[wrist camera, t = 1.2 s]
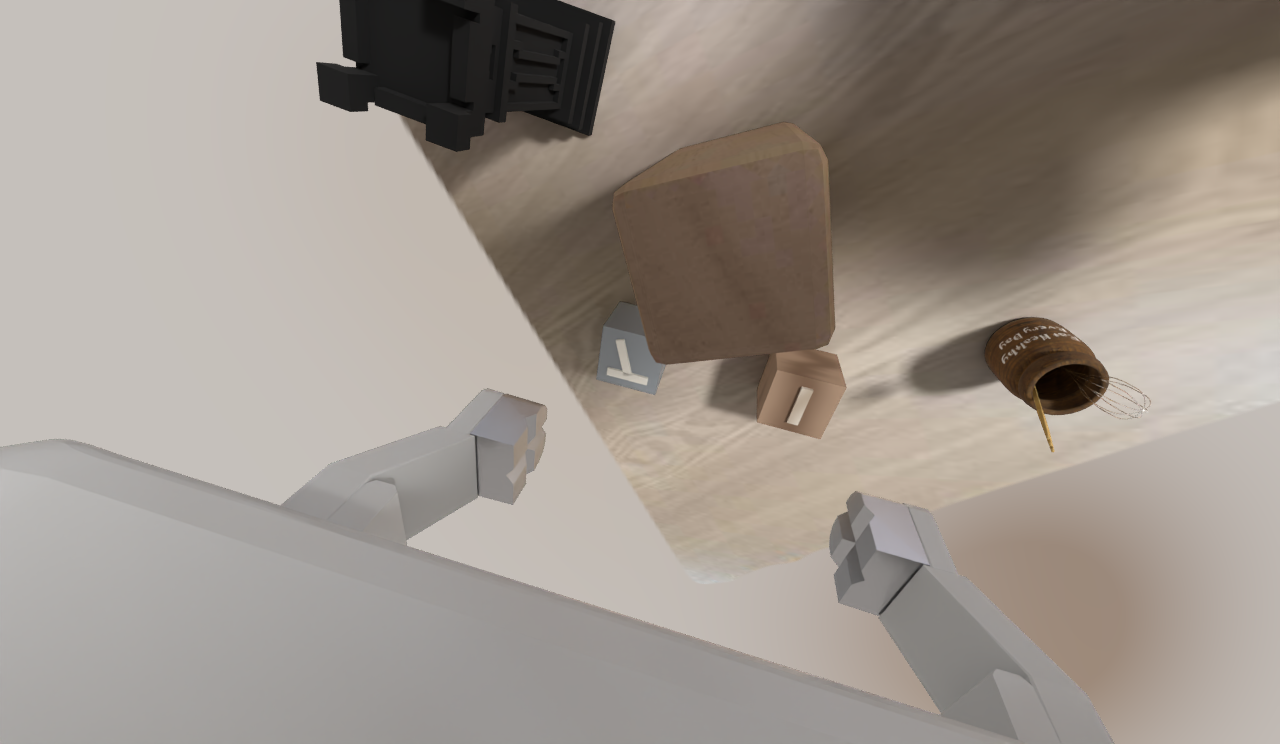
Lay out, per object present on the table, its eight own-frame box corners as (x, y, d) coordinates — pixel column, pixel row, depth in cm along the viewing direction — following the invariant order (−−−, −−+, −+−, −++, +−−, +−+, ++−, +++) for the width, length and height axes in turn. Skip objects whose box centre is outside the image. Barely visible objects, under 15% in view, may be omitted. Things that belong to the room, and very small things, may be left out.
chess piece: (517, -14, 34) (289, -119, 18) (615, 21, 34) (477, -51, 17) (505, 102, 39) (313, 106, 22) (591, 134, 39) (463, 163, 22)
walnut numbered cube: (836, 354, 44) (847, 389, 39) (814, 402, 47) (820, 440, 42) (775, 339, 44) (777, 371, 39) (757, 388, 48) (756, 423, 42)
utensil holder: (1072, 358, 39) (1179, 447, 29) (988, 385, 42) (1060, 475, 32) (1054, 302, 37) (1163, 377, 27) (968, 335, 40) (1038, 413, 30)
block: (692, 265, 42) (649, 373, 26) (670, 150, 38) (600, 191, 21) (805, 245, 39) (838, 354, 23) (796, 117, 35) (830, 136, 18)
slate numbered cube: (677, 315, 45) (666, 343, 40) (665, 364, 49) (654, 396, 43) (620, 301, 46) (602, 326, 41) (612, 350, 49) (595, 380, 44)
